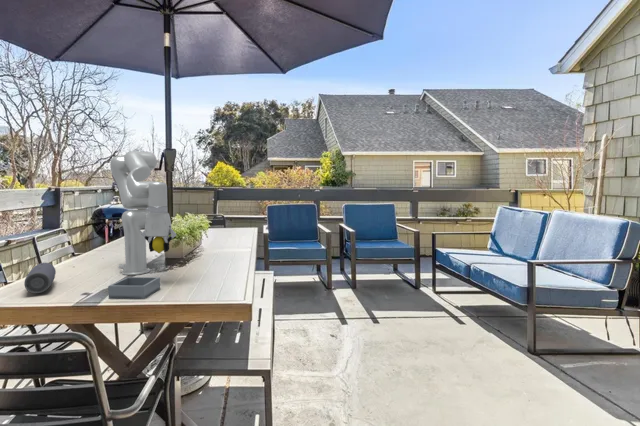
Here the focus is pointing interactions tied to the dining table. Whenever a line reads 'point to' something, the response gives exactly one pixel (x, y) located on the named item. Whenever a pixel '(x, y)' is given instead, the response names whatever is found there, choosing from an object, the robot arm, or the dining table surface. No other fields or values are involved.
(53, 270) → the bluetooth speaker
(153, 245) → the lemon
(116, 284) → the grey shallow tray
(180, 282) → the dining table surface
